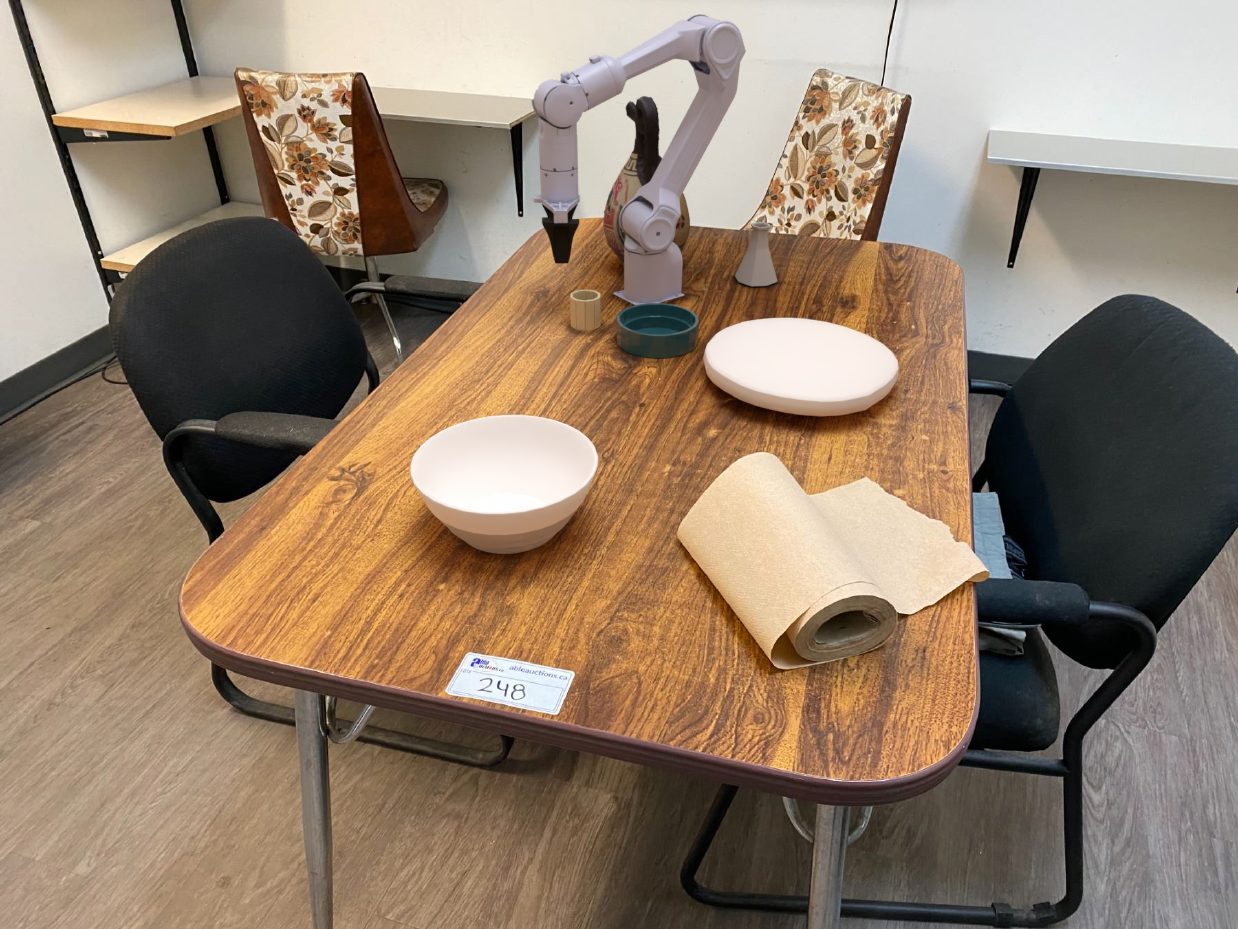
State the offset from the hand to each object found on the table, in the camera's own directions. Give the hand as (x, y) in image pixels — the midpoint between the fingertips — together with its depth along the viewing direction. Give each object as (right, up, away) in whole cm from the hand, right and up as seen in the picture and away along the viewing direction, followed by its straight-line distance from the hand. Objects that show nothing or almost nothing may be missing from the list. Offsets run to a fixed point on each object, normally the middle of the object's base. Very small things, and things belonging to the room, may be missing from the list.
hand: (561, 254), depth 145 cm
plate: (+34, -22, -16) cm, 44 cm away
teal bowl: (+15, -15, -6) cm, 22 cm away
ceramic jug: (+14, +2, +22) cm, 26 cm away
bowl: (-3, -40, -45) cm, 60 cm away
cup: (+4, -12, -1) cm, 12 cm away
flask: (+33, -1, +17) cm, 37 cm away
